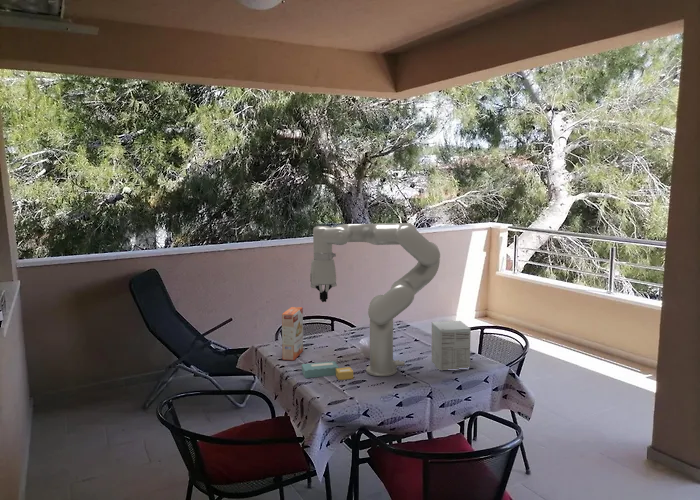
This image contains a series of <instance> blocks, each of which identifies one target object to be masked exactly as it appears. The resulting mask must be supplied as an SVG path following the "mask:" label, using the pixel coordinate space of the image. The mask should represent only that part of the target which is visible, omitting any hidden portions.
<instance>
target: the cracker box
mask: <svg viewBox="0 0 700 500" xmlns="http://www.w3.org/2000/svg"><path fill="white" fill-rule="evenodd" d="M303 309H304V308H303V307H301V306H290V307H289V308H288V309H286V310H285V311H284V312H283V313H281V345H282V346H281V347H282V349H281V352H282V353H281V356H282V360H283V361H295V360H296V359H297V358H298V357H299V356H300V355H301V354H302V353H303V351H304V322H303V321H304V319H303V318H304V314H303V312H304V311H303Z"/></svg>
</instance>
